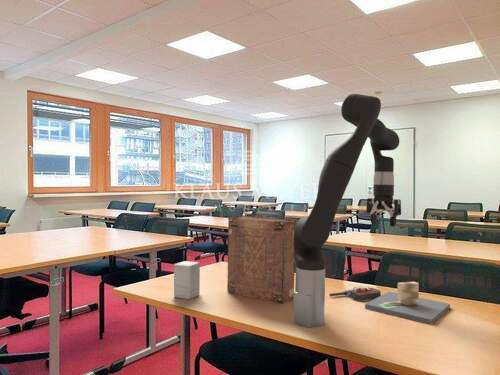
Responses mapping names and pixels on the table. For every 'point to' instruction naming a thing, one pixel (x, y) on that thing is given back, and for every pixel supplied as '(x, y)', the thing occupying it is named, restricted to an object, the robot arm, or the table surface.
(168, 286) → the table surface
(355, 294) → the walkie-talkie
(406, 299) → the tuning knob
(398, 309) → the grey flat square slab
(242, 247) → the book
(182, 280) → the supplement box
